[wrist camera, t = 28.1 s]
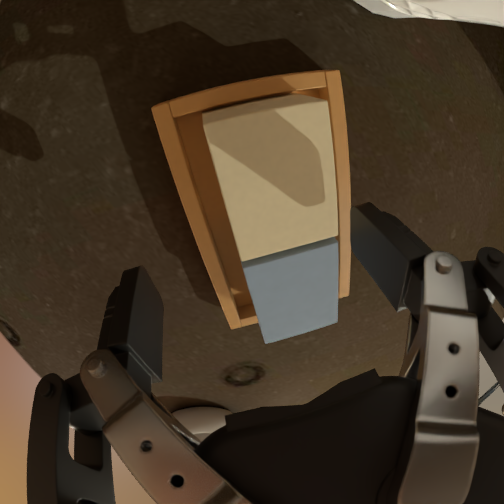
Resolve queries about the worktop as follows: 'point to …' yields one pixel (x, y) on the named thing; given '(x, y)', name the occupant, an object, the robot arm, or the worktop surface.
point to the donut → (202, 420)
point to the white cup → (440, 9)
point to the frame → (207, 186)
